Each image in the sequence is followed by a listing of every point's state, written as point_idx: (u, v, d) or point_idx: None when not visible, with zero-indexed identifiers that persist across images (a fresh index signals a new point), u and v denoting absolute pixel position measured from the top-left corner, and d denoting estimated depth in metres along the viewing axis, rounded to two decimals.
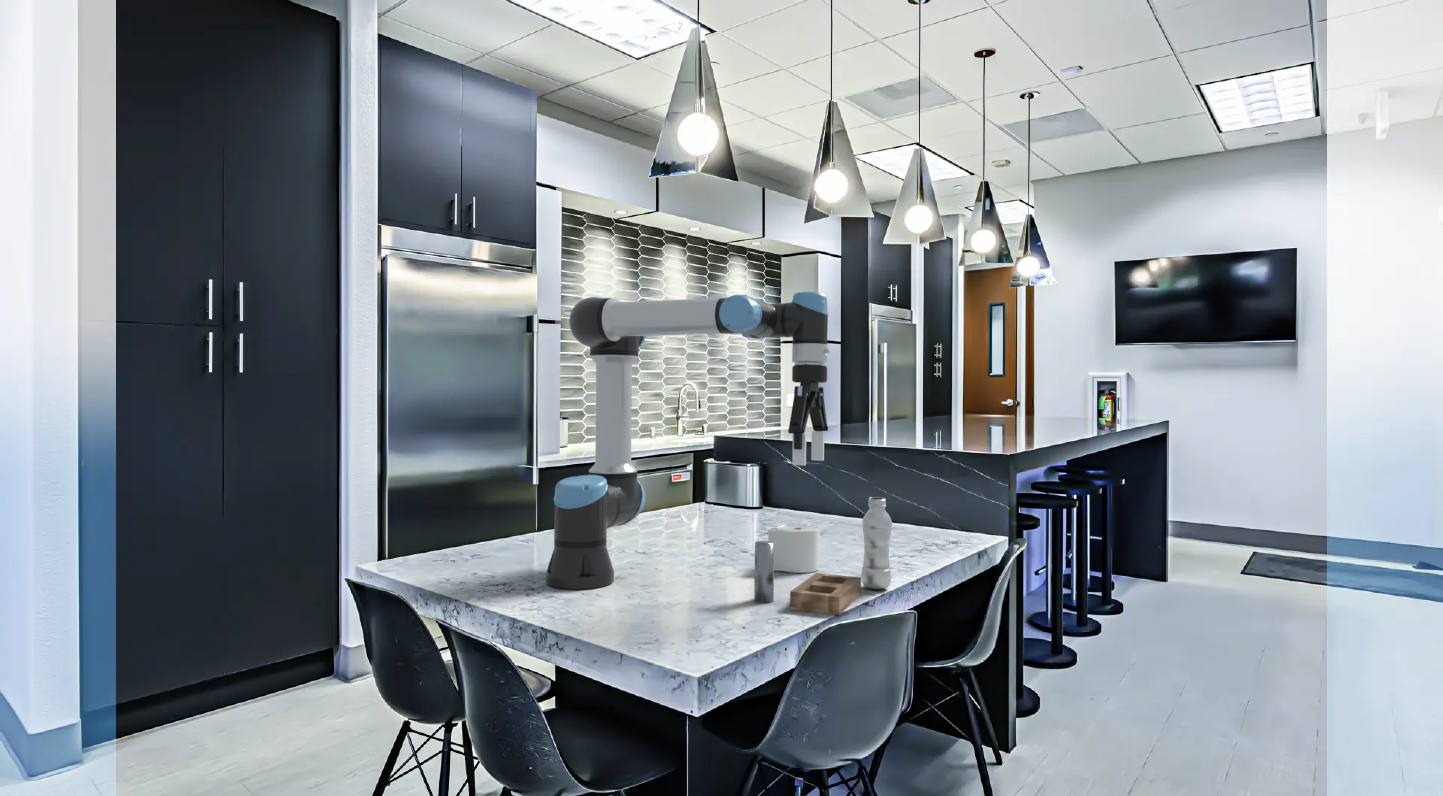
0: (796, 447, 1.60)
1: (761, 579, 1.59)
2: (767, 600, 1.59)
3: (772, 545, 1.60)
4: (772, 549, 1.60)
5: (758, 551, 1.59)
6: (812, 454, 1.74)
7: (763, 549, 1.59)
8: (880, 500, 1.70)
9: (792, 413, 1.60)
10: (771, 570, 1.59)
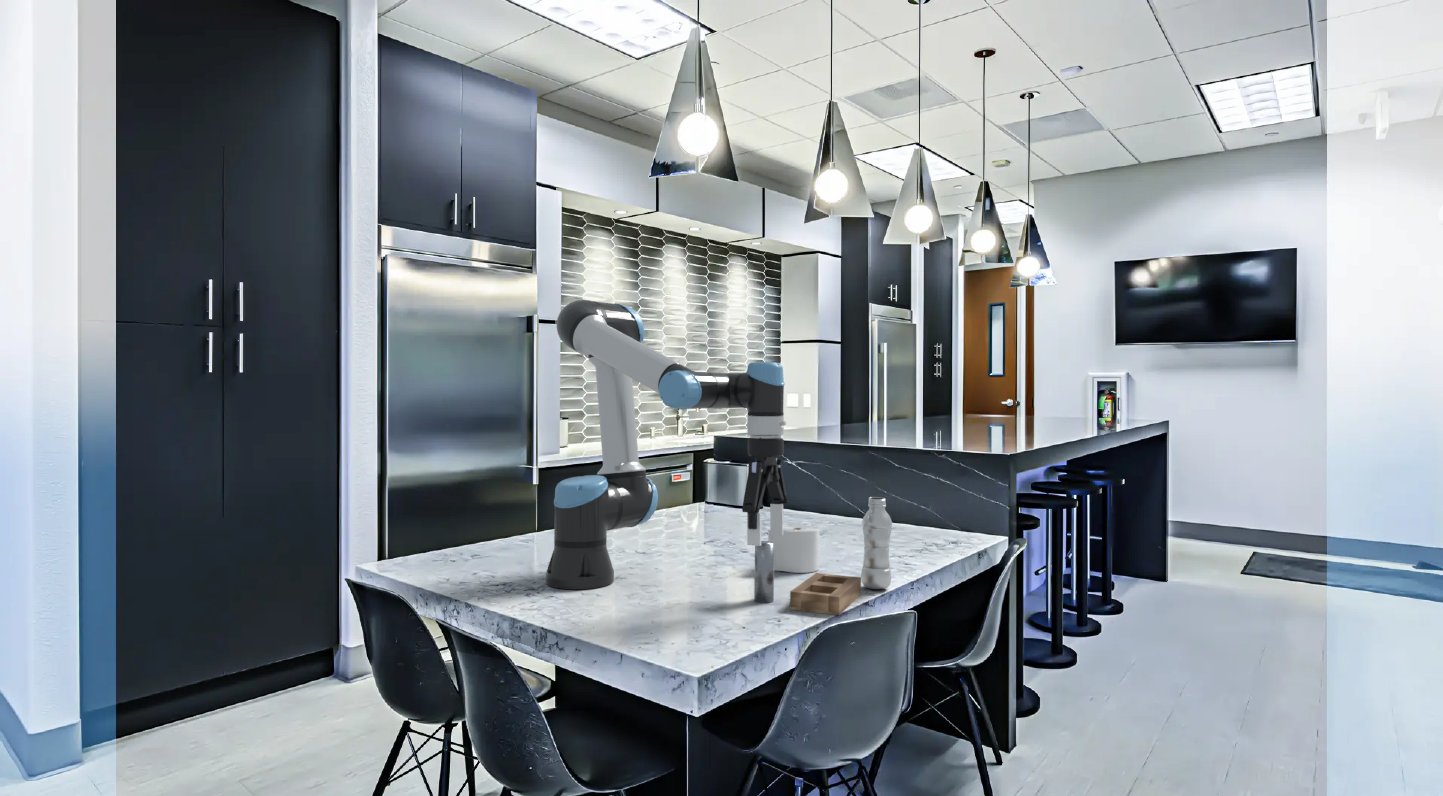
0: (750, 527, 1.53)
1: (761, 579, 1.59)
2: (767, 600, 1.59)
3: (772, 545, 1.60)
4: (772, 549, 1.60)
5: (758, 551, 1.59)
6: (771, 528, 1.67)
7: (763, 549, 1.59)
8: (880, 500, 1.70)
9: (746, 491, 1.53)
10: (771, 570, 1.59)
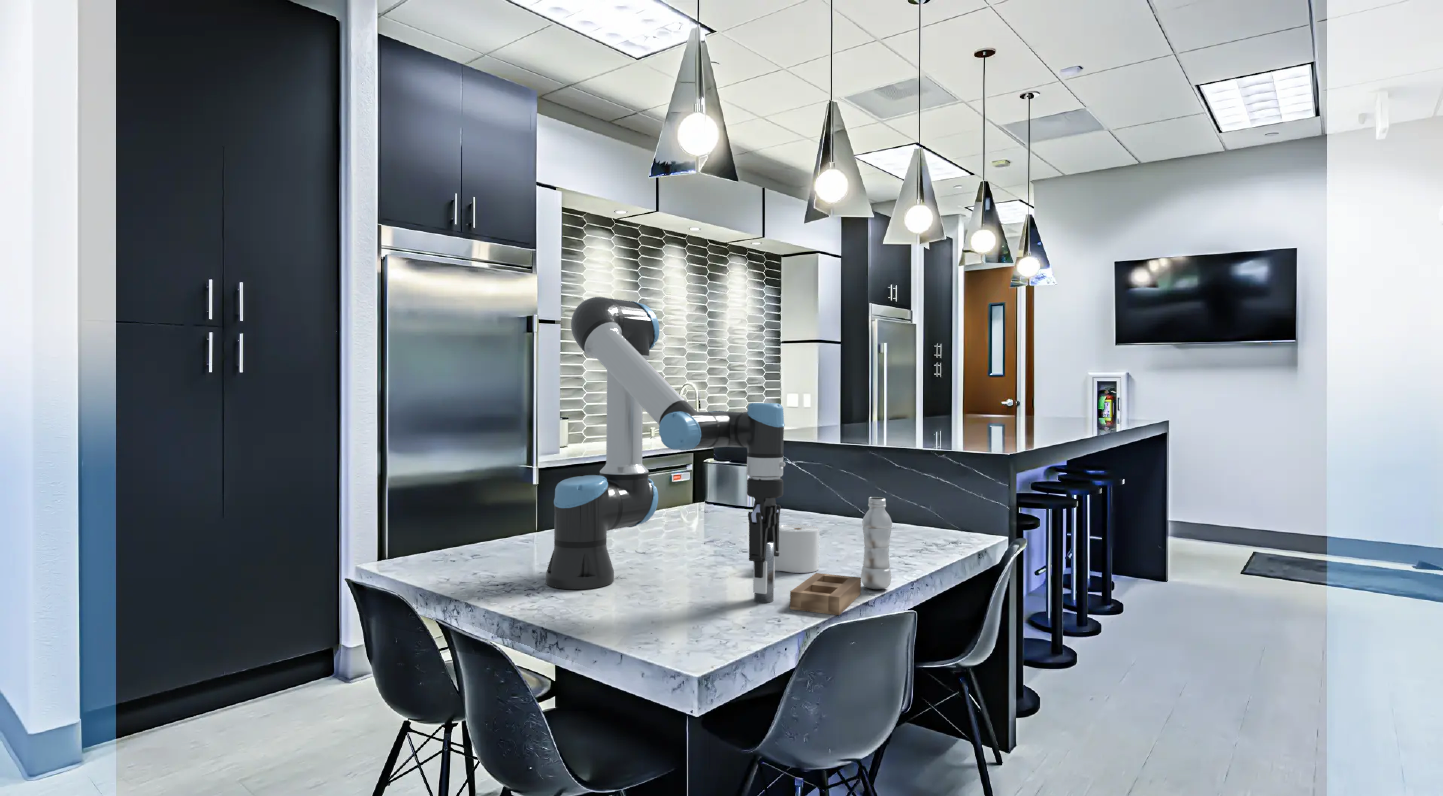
0: (757, 576, 1.58)
1: None
2: (767, 600, 1.59)
3: (772, 545, 1.60)
4: (772, 549, 1.60)
5: None
6: None
7: None
8: (880, 500, 1.70)
9: (750, 542, 1.56)
10: (771, 570, 1.59)
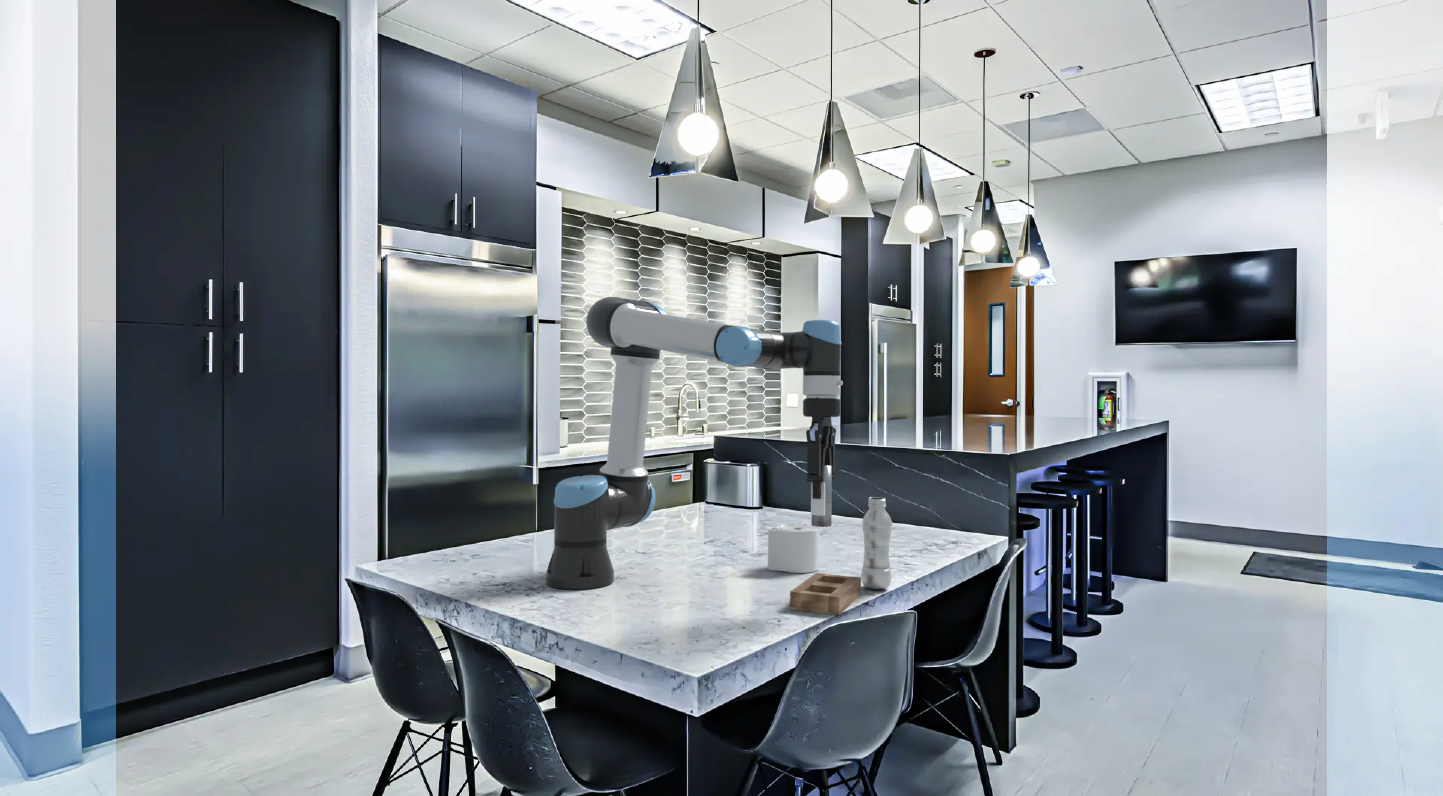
0: (815, 496, 1.53)
1: None
2: (825, 524, 1.55)
3: (830, 468, 1.55)
4: (830, 472, 1.55)
5: None
6: None
7: None
8: (880, 500, 1.70)
9: (808, 461, 1.52)
10: (829, 494, 1.55)
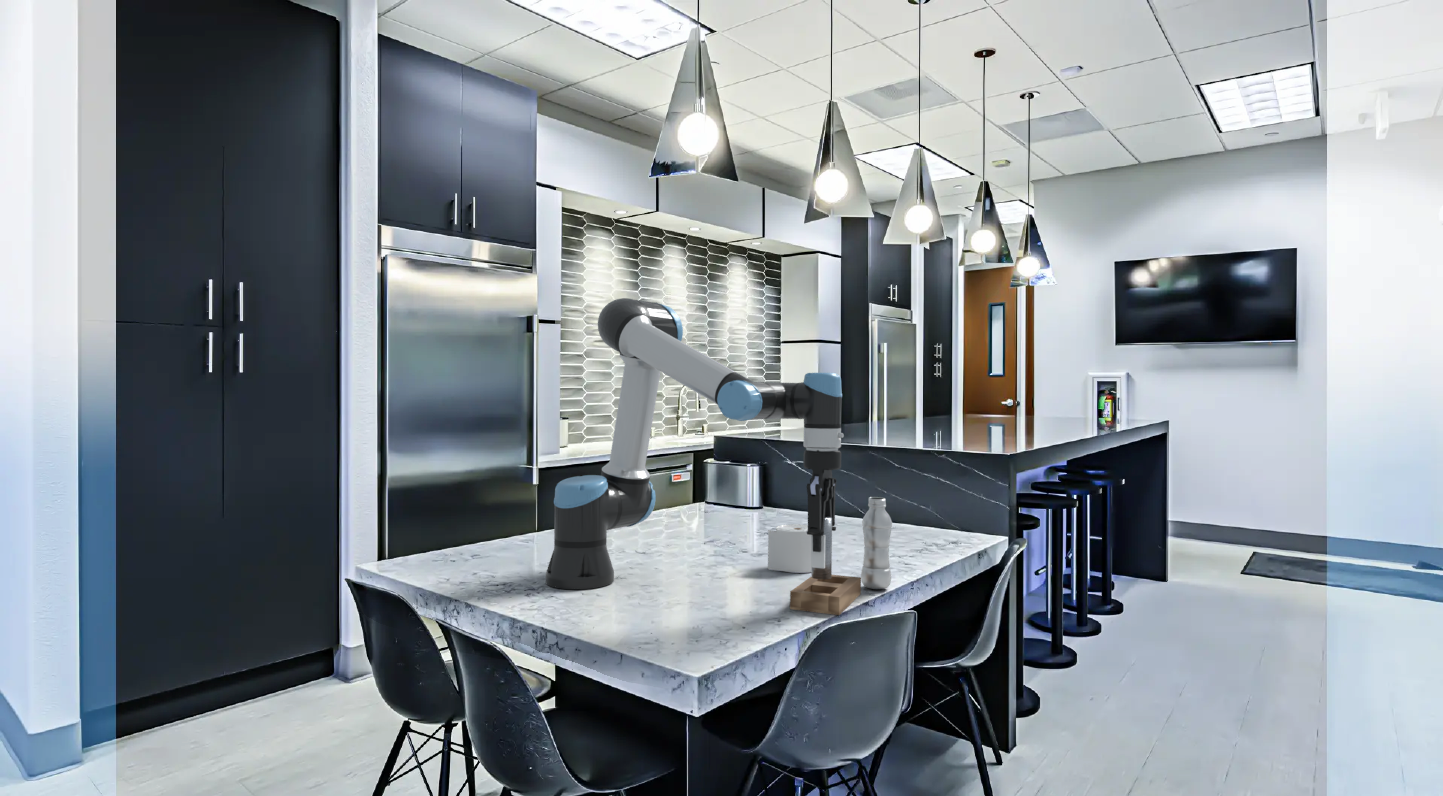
0: (815, 550, 1.53)
1: None
2: (825, 576, 1.55)
3: (830, 520, 1.55)
4: (830, 524, 1.55)
5: None
6: None
7: None
8: (880, 500, 1.70)
9: (809, 515, 1.52)
10: (829, 546, 1.55)
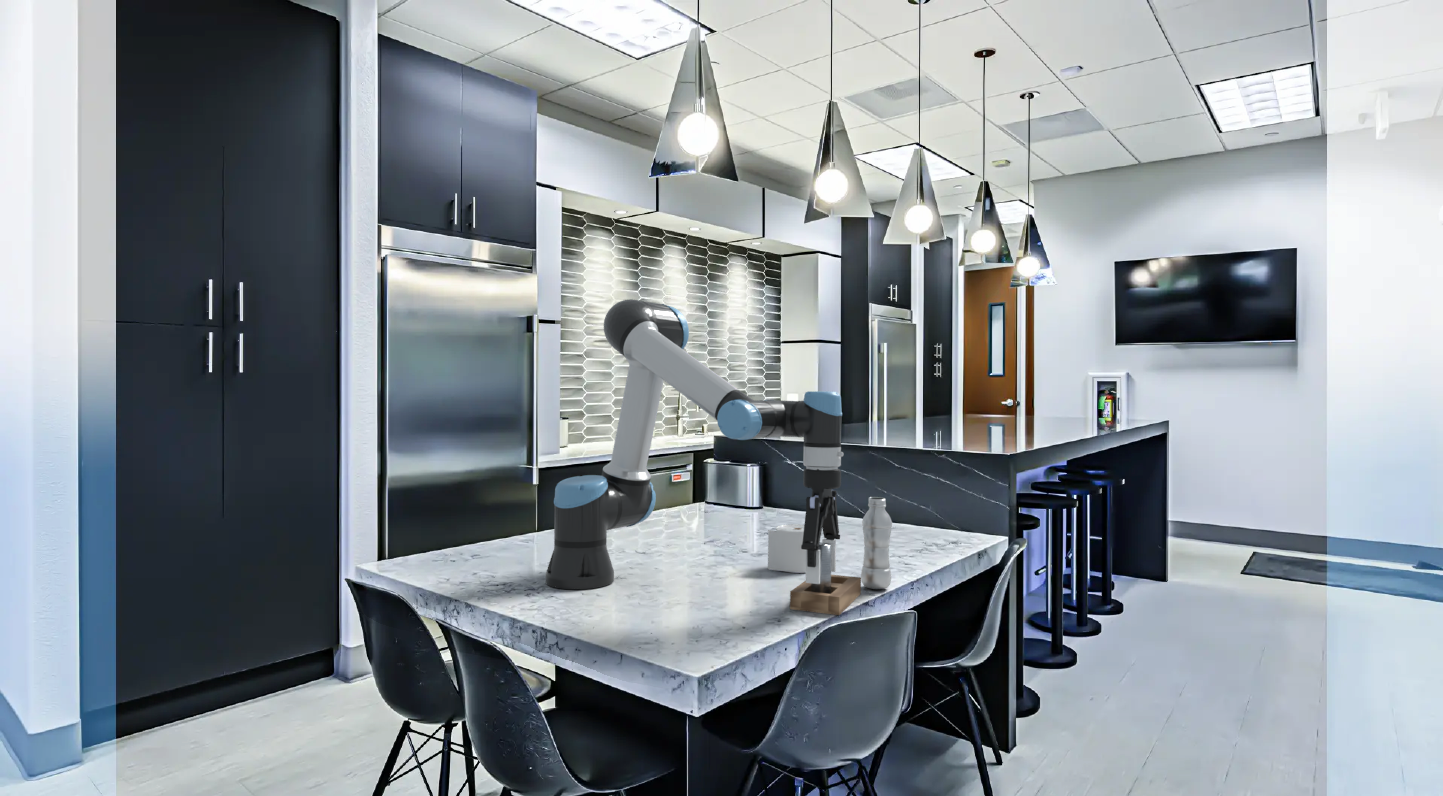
0: (810, 565, 1.50)
1: None
2: None
3: (829, 547, 1.56)
4: (829, 551, 1.56)
5: None
6: None
7: (821, 550, 1.55)
8: (880, 500, 1.70)
9: (805, 528, 1.50)
10: (828, 573, 1.55)
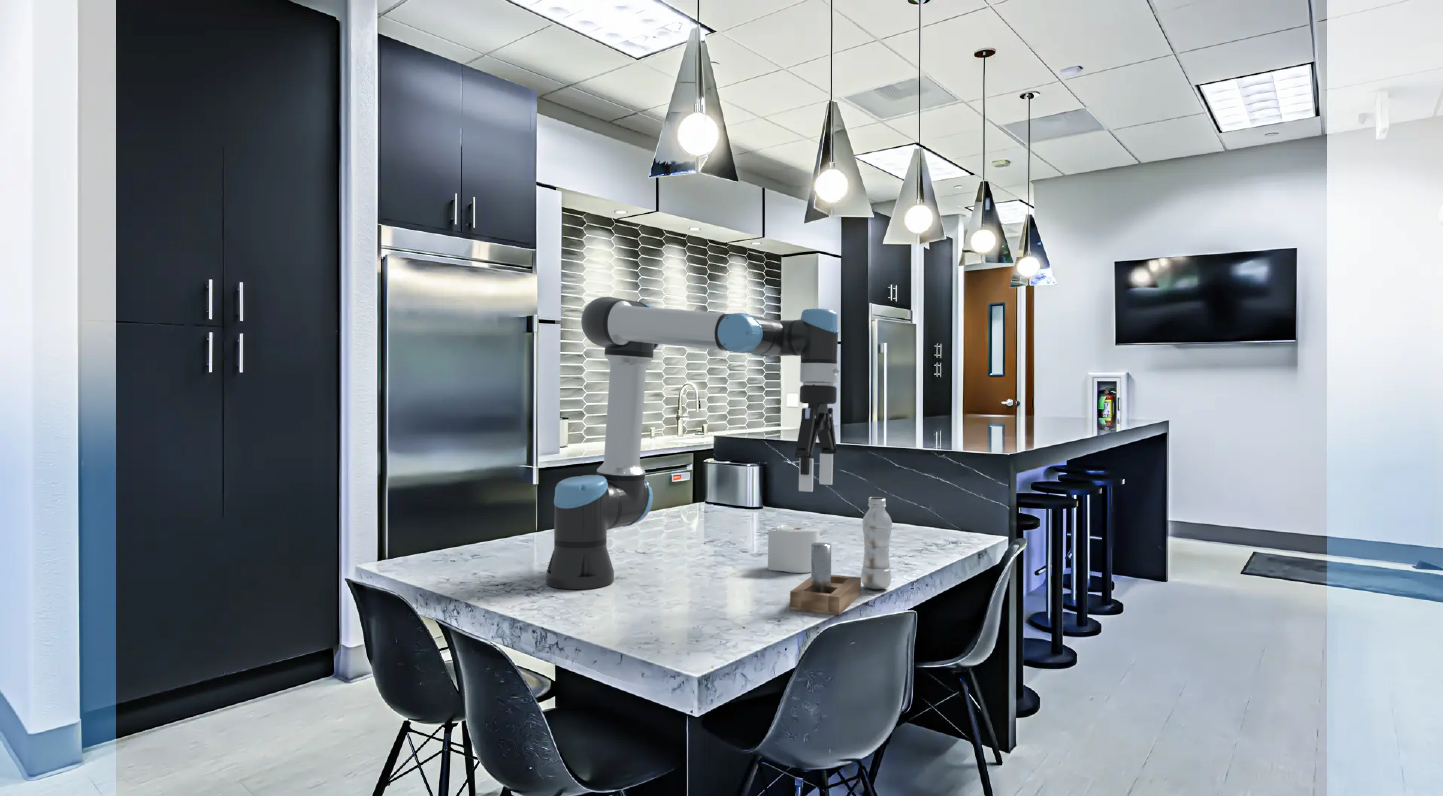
0: (803, 472, 1.53)
1: (819, 582, 1.55)
2: None
3: (829, 547, 1.56)
4: (829, 551, 1.56)
5: (815, 553, 1.55)
6: (820, 478, 1.66)
7: (821, 550, 1.55)
8: (880, 500, 1.70)
9: (799, 437, 1.52)
10: (828, 573, 1.55)
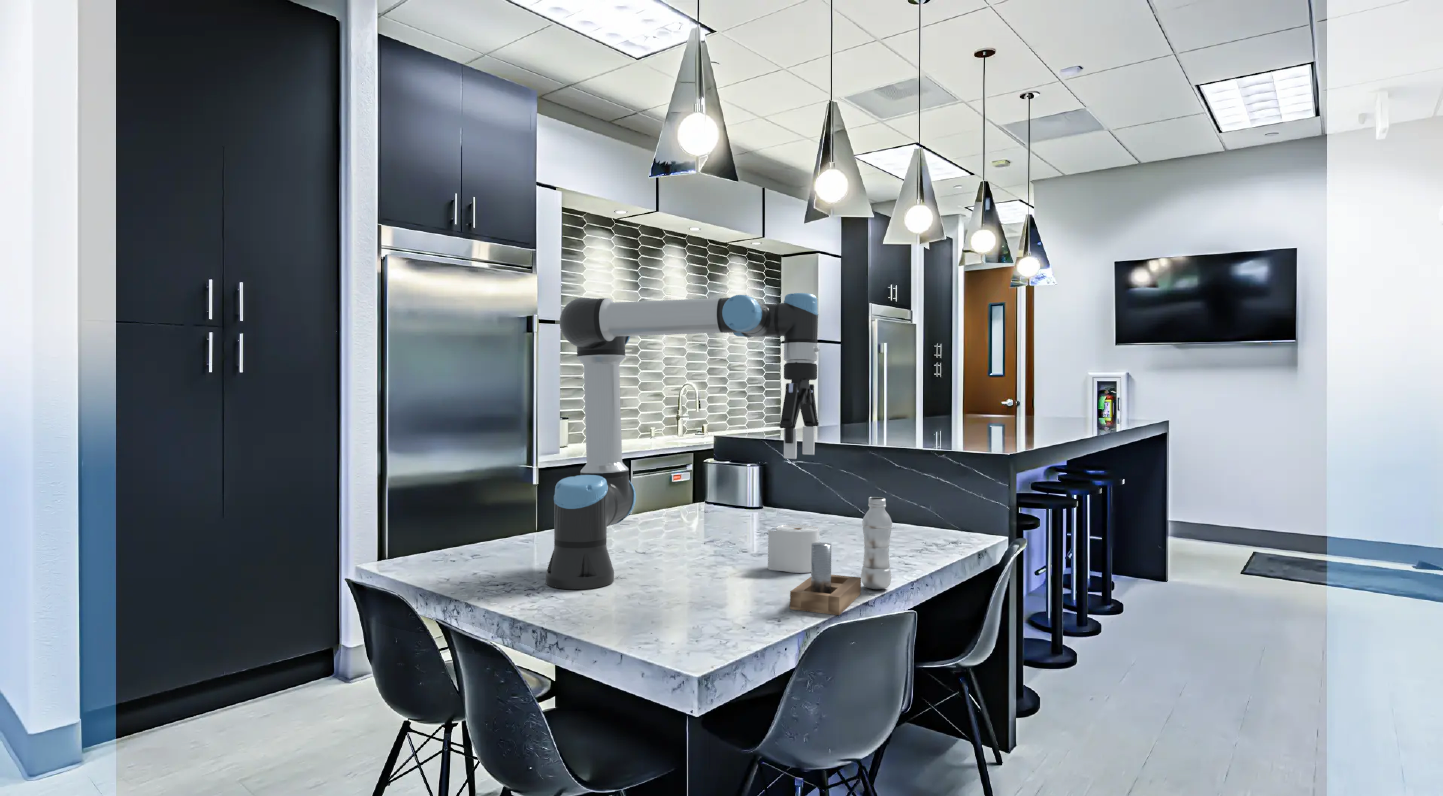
0: (787, 441, 1.68)
1: (819, 582, 1.55)
2: None
3: (829, 547, 1.56)
4: (829, 551, 1.56)
5: (815, 553, 1.55)
6: (803, 448, 1.82)
7: (821, 550, 1.55)
8: (880, 500, 1.70)
9: (783, 409, 1.68)
10: (828, 573, 1.55)
